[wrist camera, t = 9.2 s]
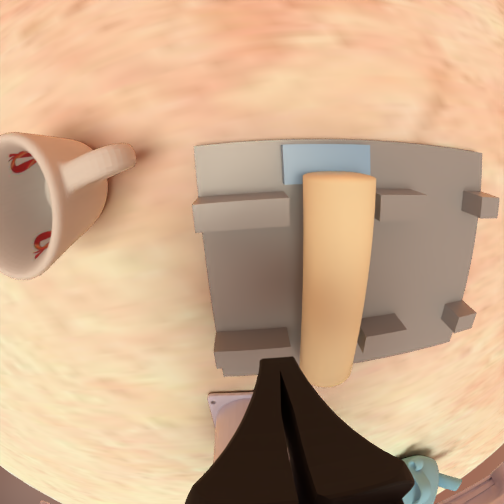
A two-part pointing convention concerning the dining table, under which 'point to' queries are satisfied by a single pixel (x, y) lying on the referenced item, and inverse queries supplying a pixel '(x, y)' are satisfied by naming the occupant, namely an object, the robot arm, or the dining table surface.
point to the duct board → (291, 243)
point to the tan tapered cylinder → (334, 271)
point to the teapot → (427, 480)
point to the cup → (50, 196)
